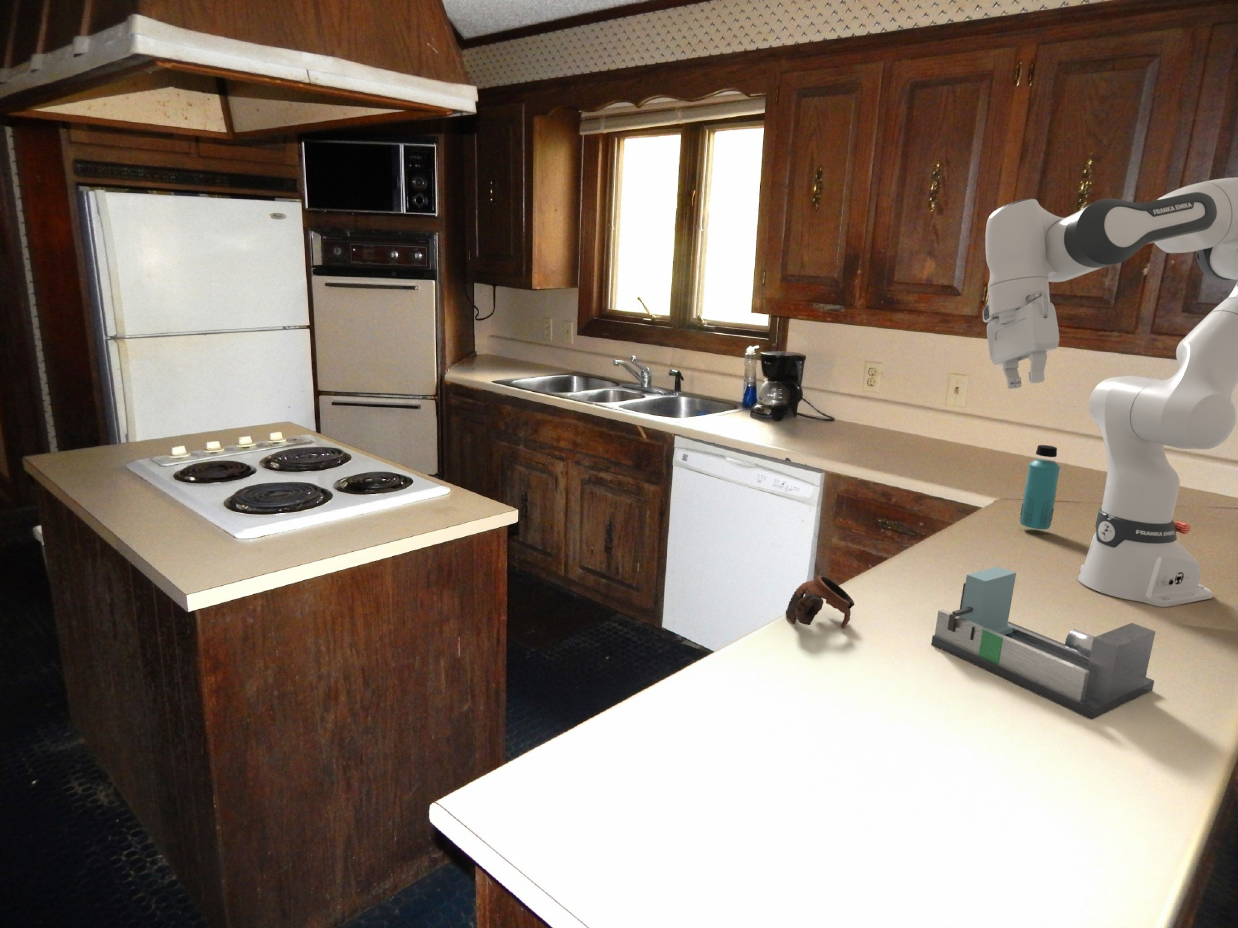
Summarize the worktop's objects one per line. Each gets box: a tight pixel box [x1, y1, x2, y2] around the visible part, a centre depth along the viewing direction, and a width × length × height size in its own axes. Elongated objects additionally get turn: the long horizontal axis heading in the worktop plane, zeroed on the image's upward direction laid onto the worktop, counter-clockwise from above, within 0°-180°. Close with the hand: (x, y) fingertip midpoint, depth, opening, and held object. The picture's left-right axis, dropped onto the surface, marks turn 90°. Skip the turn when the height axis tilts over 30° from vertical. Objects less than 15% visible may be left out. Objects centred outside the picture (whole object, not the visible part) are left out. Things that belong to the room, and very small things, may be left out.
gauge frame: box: [931, 609, 1156, 721], centre depth 116 cm, size 24×16×10 cm, turn 33°
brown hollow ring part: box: [785, 574, 855, 629], centre depth 127 cm, size 12×10×8 cm
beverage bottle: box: [1019, 444, 1061, 530], centre depth 181 cm, size 6×7×20 cm
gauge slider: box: [948, 566, 1017, 635], centre depth 121 cm, size 5×13×9 cm, turn 123°
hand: (1025, 385), depth 131 cm, fingers open, 8 cm apart
